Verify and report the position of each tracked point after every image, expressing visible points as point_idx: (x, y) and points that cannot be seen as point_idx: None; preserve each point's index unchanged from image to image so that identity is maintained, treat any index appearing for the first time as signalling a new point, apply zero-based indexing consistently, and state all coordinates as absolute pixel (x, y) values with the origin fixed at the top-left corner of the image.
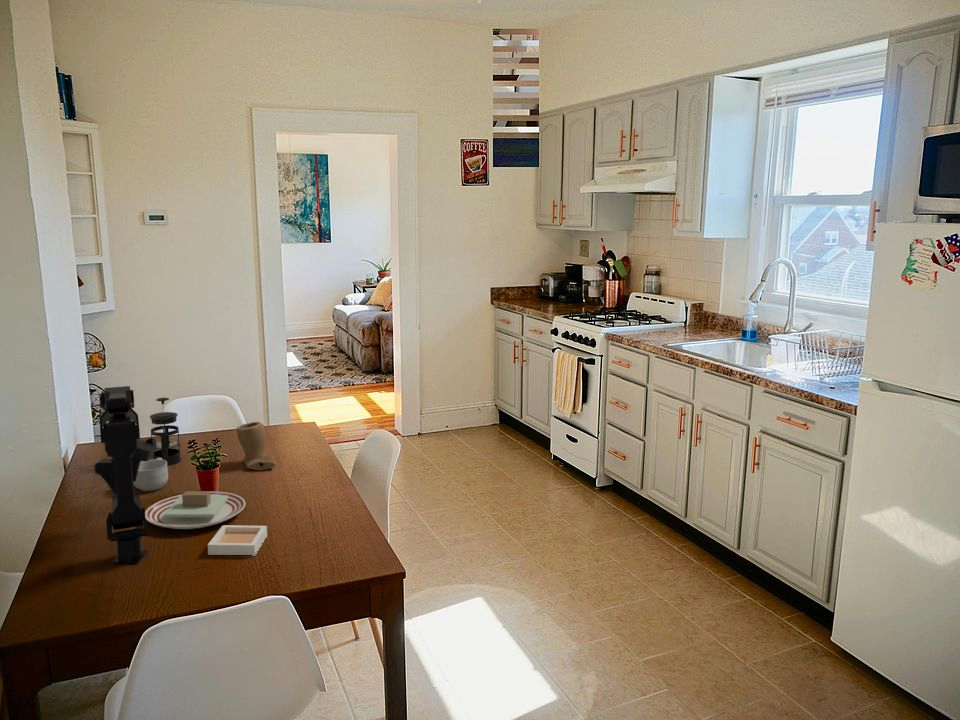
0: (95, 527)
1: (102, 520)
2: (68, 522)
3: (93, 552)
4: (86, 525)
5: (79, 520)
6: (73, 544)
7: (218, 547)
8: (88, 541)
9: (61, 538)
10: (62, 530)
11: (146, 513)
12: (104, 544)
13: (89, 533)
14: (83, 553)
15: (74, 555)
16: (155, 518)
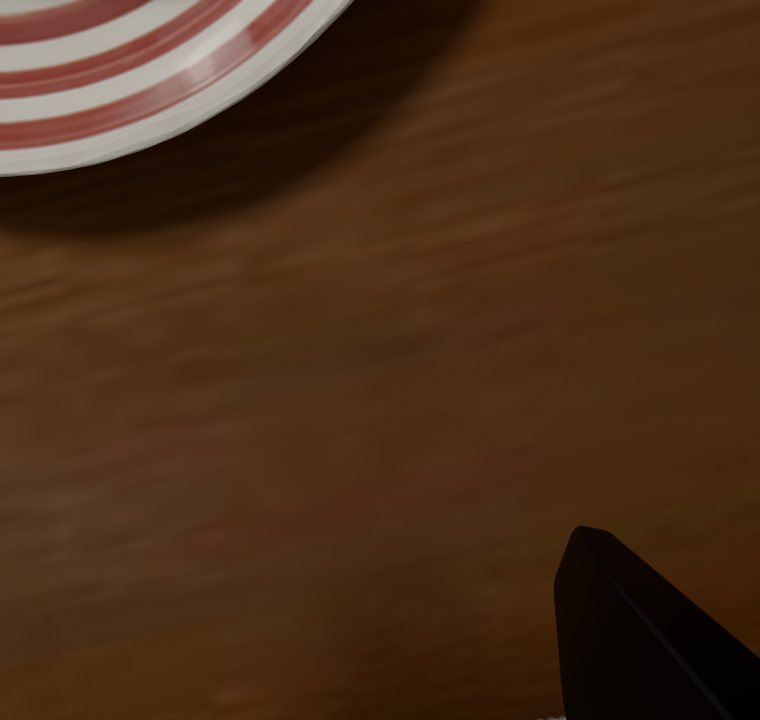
0: (220, 526)
1: (86, 514)
2: (126, 702)
3: (706, 419)
4: (180, 591)
5: (90, 652)
6: (515, 583)
7: None
8: (482, 505)
9: (395, 673)
10: (260, 700)
11: (61, 150)
12: (568, 380)
13: (331, 536)
14: (702, 481)
15: (719, 529)
16: (108, 39)
